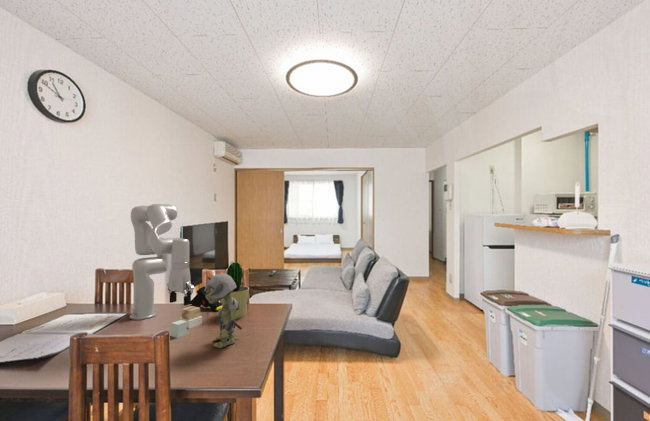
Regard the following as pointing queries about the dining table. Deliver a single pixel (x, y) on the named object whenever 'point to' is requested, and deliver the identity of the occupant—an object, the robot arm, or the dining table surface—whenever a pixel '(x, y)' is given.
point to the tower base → (192, 321)
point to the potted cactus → (238, 289)
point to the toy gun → (204, 300)
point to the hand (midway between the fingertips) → (179, 303)
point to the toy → (217, 290)
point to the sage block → (178, 328)
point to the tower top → (190, 312)
